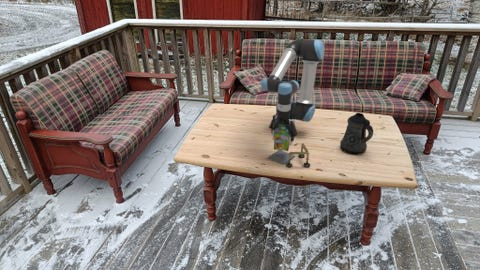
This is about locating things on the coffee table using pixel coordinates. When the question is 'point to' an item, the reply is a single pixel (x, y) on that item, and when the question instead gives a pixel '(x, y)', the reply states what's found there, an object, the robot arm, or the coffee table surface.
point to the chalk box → (281, 138)
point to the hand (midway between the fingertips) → (282, 142)
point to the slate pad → (280, 157)
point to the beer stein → (356, 135)
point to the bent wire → (300, 155)
